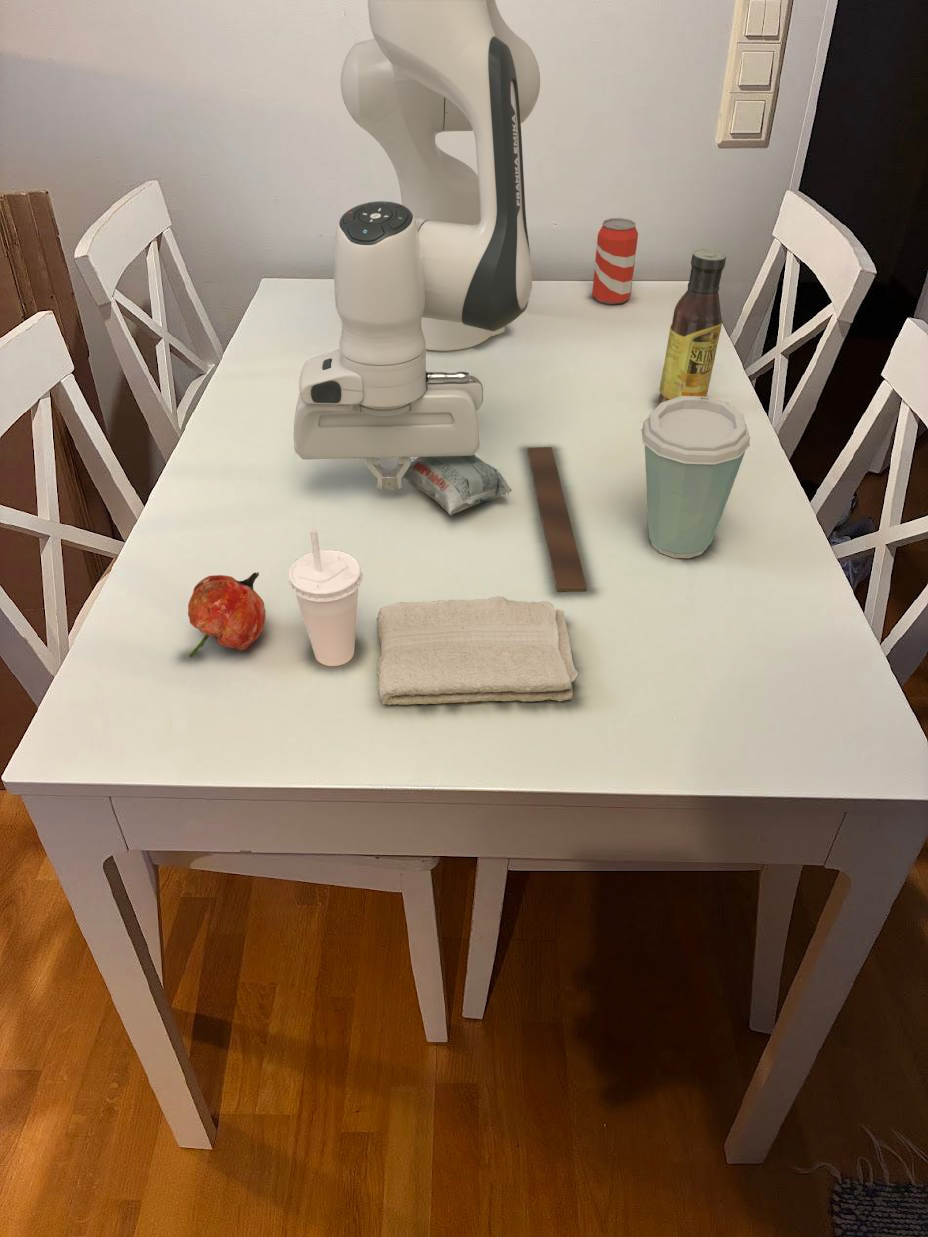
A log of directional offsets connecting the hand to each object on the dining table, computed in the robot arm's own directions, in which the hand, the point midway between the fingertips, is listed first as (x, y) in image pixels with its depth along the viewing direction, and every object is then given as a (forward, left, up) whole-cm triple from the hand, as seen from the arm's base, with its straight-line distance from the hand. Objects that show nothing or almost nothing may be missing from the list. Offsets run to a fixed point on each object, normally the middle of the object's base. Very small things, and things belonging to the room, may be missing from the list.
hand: (390, 486), depth 106 cm
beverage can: (-58, +36, -2) cm, 68 cm away
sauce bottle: (-21, +39, -2) cm, 44 cm away
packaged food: (0, +7, -2) cm, 7 cm away
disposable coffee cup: (+10, +31, -2) cm, 32 cm away
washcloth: (+28, +8, -2) cm, 29 cm away
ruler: (+4, +18, -2) cm, 19 cm away
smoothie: (+26, -5, -2) cm, 27 cm away
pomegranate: (+24, -15, -2) cm, 28 cm away
